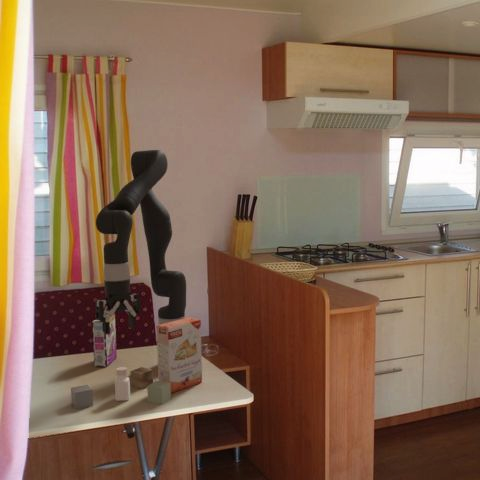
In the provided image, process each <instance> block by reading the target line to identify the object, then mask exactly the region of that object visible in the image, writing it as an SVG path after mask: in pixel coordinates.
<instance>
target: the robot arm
mask: <svg viewBox="0 0 480 480" xmlns="http://www.w3.org/2000/svg"><path fill="white" fill-rule="evenodd" d="M130 168H131V173H132V177H133V179H132V180H131V181H128V182H127V184H124V186H123V187H122V188H121V189H120V190H119V192H118V193H117V195H116V197H115V198H114V200H112V201H110V202H109V203H108V204H107V205H105V206H104V207H103V208H102V209H100V211H99V212H98V214H97V216H96V219H95V227H96V229H97V231H98V232H99V233H100V234H103V235H117V236H116V239H115V240H114V241H111V242H107V243H105V244H104V245H103V281H104V282H103V283H104V285H103V286H104V295H105V298H104V299H96V300H95V320H99V321H102V327H103V332H104V333H105V334H107V335H108V334H110V322H108V321H109V320H110V318H111V316H113V315H115V313H119V312H126V313H127V315H128V317H127V319H128V328H129V329H131V330H134V329H135V328H136V326H137V324H136V321H137V320H136V316H137V315H138V314H142V313H141V312H142V307H141V297H140V294H138V293H133V292H132V294H131V275H130V274H131V273H130V265H129V252H128V251H129V250H128V249H129V243H130V239H131V238H130V237H131V233H132V229H133V222H134V221H133V218H132V216H133V214H135V212H136V211H137V208H138V207H139V206H140V210H141V211H140V212H141V216H142V217H141V218H142V225H143V230H144V235H145V240H146V245H147V251H148V252H147V253H148V259H149V260H148V261H149V272H150V274H149V275H150V284H151V288H152V292H153V293H154V294H155V296H157V297H161V298H168V304H167V305H164V306H161V307H159V308H158V309H157V318H158V321H157V322H158V325H161V324H164V323H168V322H172V321H177V320H180V319H184V318H186V317H185V314H186V313H185V312H186V311H185V310H186V308H187V280H186V277H185V274H184V273H183V272H182V271H178V270H168V269H167V265H166V252H167V249H168V247H169V245H170V242H171V240H172V237H173V228H172V227H173V226H172V222H171V215H170V213H169V211H168V209H167V208H166V206H165V205H164V204H163V203H162V202H161V200H159V198H158V197H157V196H156V194H155V193H154V191H153V189H152V188H153V187H155V186H156V185H157V183H158V182H159V181H160V180H161V179H162V178H164V176H165V175H166V173H167V171H168V159H167V155H166V154H165V152H164V151H162V150H159V149H150V150H137V151H134V152H133V153H132V155H131V157H130ZM131 301H132V305H130V302H131ZM105 305H106V307H105ZM104 307H105V308H104Z"/></svg>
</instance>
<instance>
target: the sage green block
mask: <svg viewBox="0 0 480 480" xmlns="http://www.w3.org/2000/svg"><path fill="white" fill-rule="evenodd" d="M146 389H147V402H148V403H152V404H157V405H159V404H160V405H164V404H165V403H167V402H169V400H171V398H172V395H171V394H172V393H171V388H170V383H169V382H161V381H158V380H154V381H153V383H152V384H150V385H149V386H147V387H146Z"/></svg>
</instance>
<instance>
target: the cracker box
mask: <svg viewBox="0 0 480 480" xmlns="http://www.w3.org/2000/svg"><path fill="white" fill-rule="evenodd" d="M201 323H202V322H201V319H198V318H194V317H189V316H188V317H185V318H184V319H180V320H177V321H172V322H168V323H164V324H161V325H159V324H157V325H156V341H157V342H156V343H157V346H156V347H157V376H158V378H157V379H158V380H157V381H161V382H169V383H170V388H171V394H173V393H176V392H178V391H181V390H184V389H186V388H190V387H192V386H195V385H198V384H201V383H202V382H203V377H202V376H203V374H202V373H203V371H202V370H203V367H202V366H203V364H202V363H203V362H202V325H201Z"/></svg>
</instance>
